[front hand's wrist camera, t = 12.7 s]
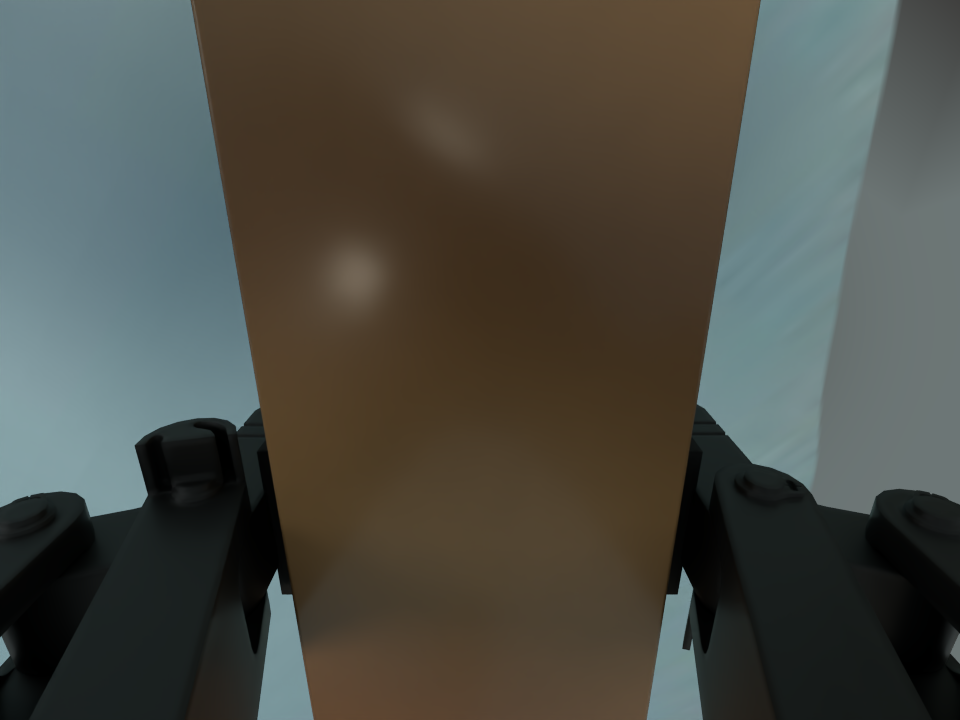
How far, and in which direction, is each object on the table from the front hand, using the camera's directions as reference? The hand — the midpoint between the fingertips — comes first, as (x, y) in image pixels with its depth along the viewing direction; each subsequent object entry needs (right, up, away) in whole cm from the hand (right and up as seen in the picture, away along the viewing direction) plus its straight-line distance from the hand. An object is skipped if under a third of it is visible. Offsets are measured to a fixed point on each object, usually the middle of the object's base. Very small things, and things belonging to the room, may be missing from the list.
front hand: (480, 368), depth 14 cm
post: (0, +30, -11) cm, 32 cm away
